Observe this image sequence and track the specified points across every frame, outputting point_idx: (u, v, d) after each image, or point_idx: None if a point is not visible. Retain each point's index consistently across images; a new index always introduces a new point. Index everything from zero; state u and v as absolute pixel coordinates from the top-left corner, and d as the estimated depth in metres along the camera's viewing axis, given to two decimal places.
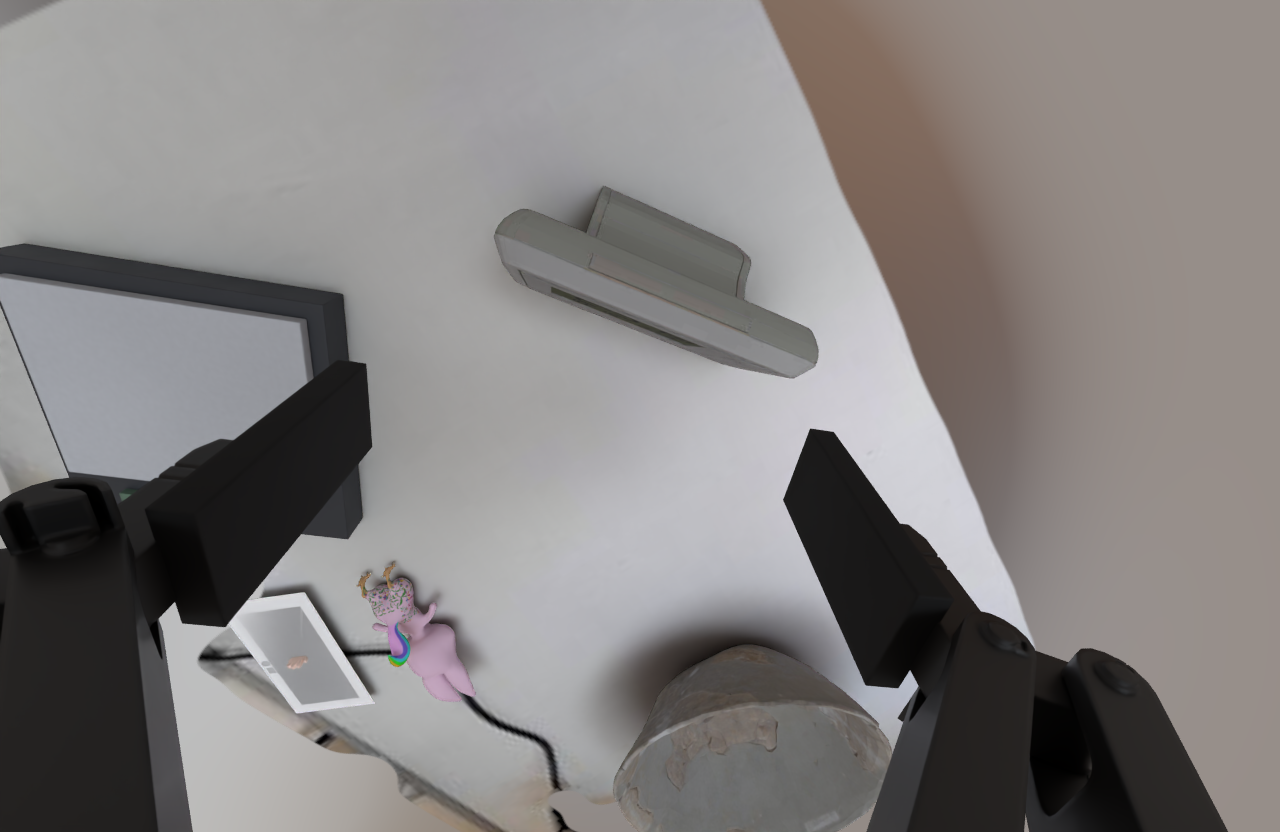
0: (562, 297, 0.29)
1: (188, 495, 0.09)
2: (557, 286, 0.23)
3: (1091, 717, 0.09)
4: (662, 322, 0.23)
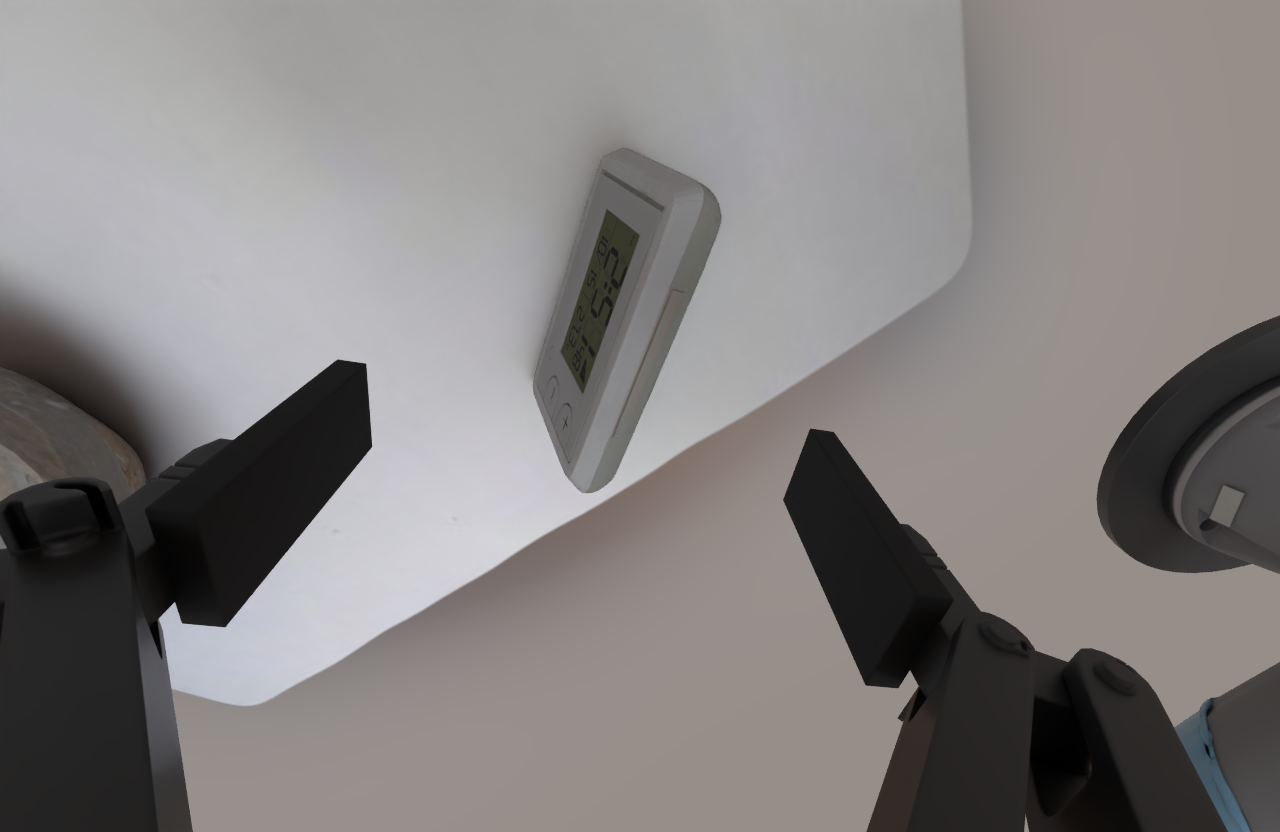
0: (601, 221, 0.27)
1: (188, 495, 0.09)
2: (646, 250, 0.22)
3: (1091, 717, 0.09)
4: (618, 361, 0.23)
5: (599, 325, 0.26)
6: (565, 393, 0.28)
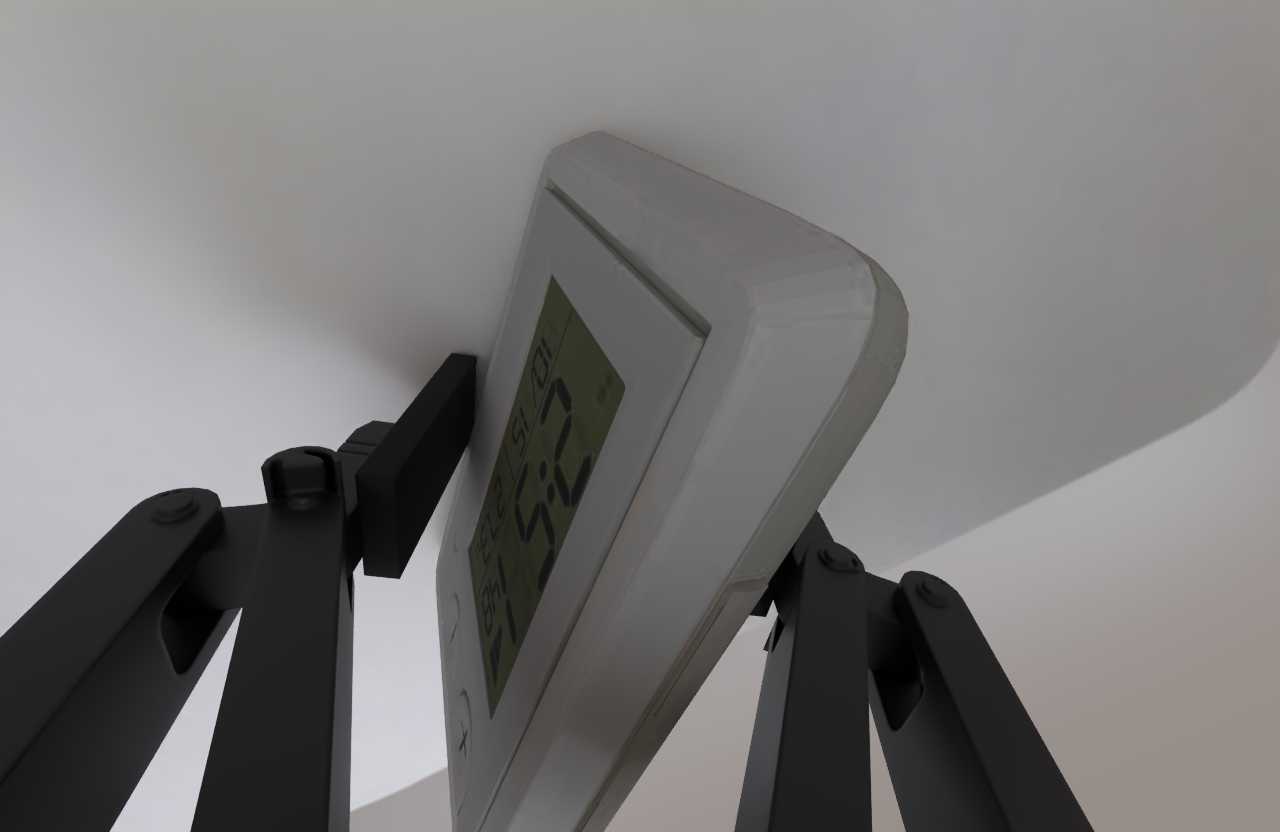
0: (541, 300, 0.11)
1: (383, 463, 0.11)
2: (646, 456, 0.07)
3: (919, 635, 0.09)
4: (563, 737, 0.08)
5: (527, 569, 0.10)
6: (466, 667, 0.13)
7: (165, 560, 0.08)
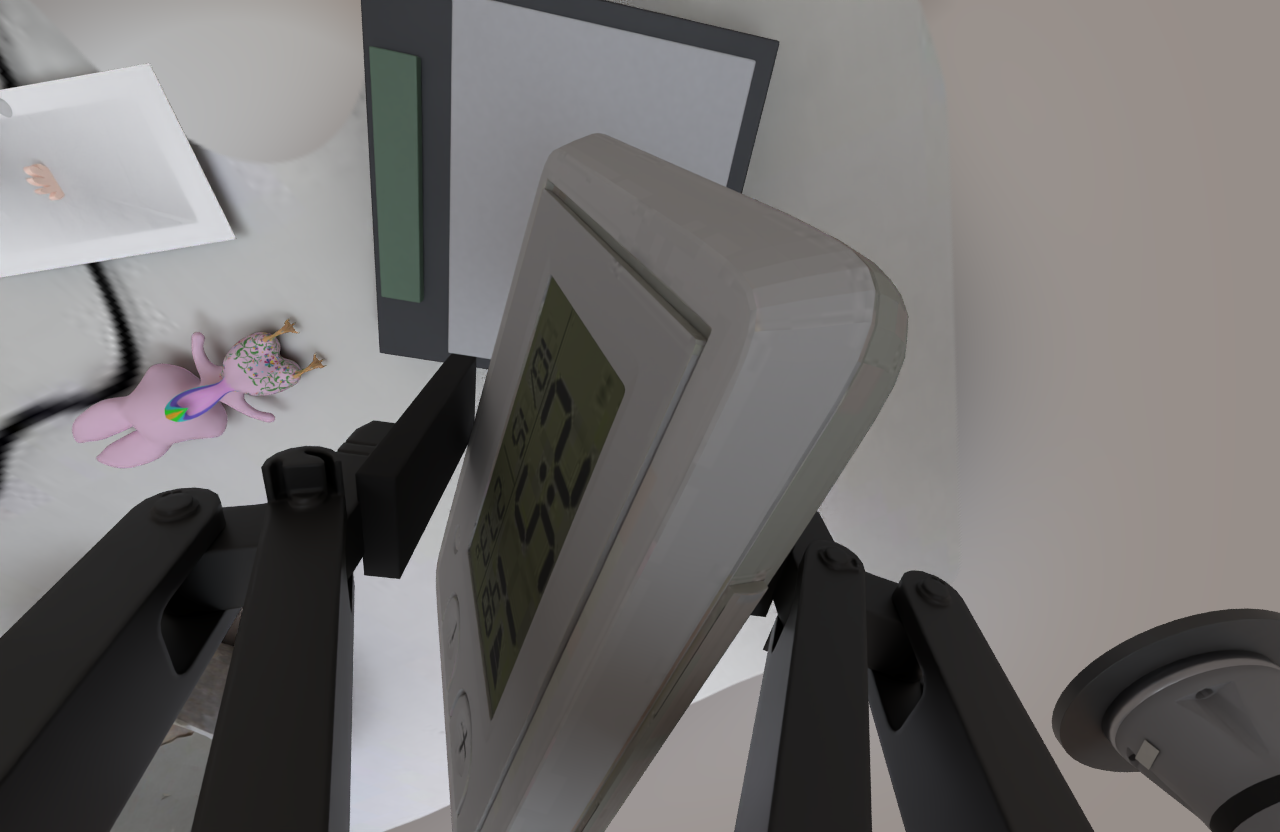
0: (541, 301, 0.11)
1: (383, 463, 0.11)
2: (646, 458, 0.07)
3: (918, 635, 0.09)
4: (562, 739, 0.08)
5: (527, 570, 0.10)
6: (466, 668, 0.13)
7: (166, 560, 0.08)
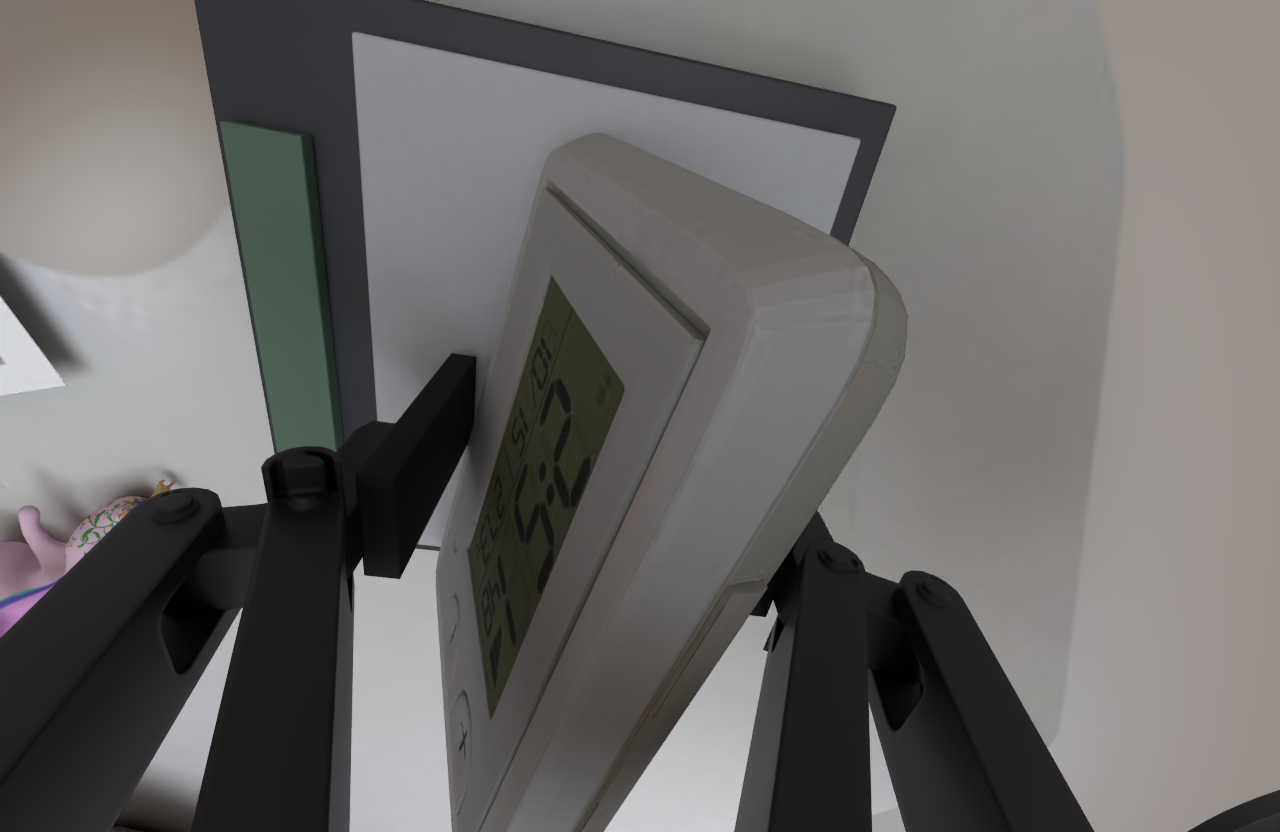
0: (541, 301, 0.11)
1: (383, 463, 0.11)
2: (645, 458, 0.07)
3: (919, 635, 0.09)
4: (562, 738, 0.08)
5: (527, 570, 0.10)
6: (466, 668, 0.13)
7: (165, 560, 0.08)
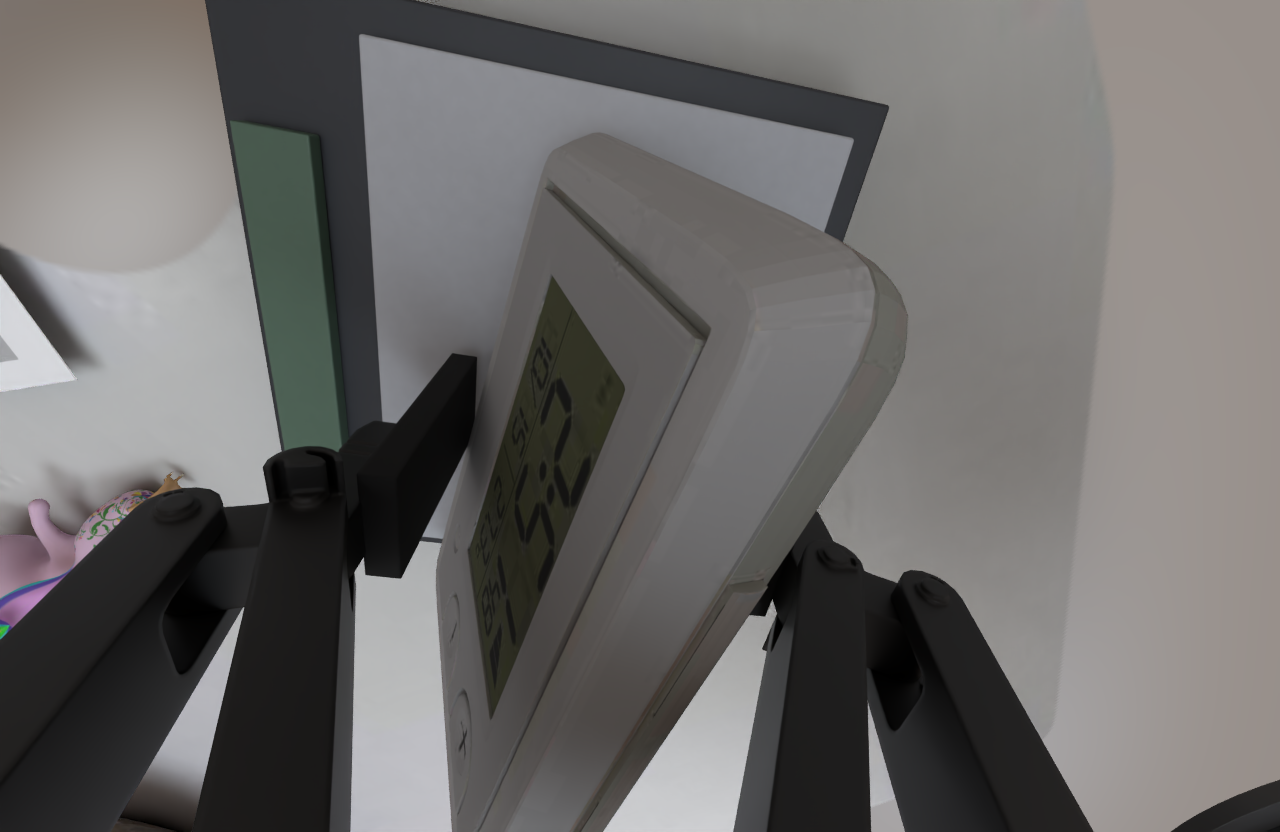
0: (541, 301, 0.11)
1: (384, 463, 0.11)
2: (646, 457, 0.07)
3: (917, 635, 0.09)
4: (562, 737, 0.08)
5: (527, 569, 0.10)
6: (466, 667, 0.13)
7: (167, 560, 0.08)
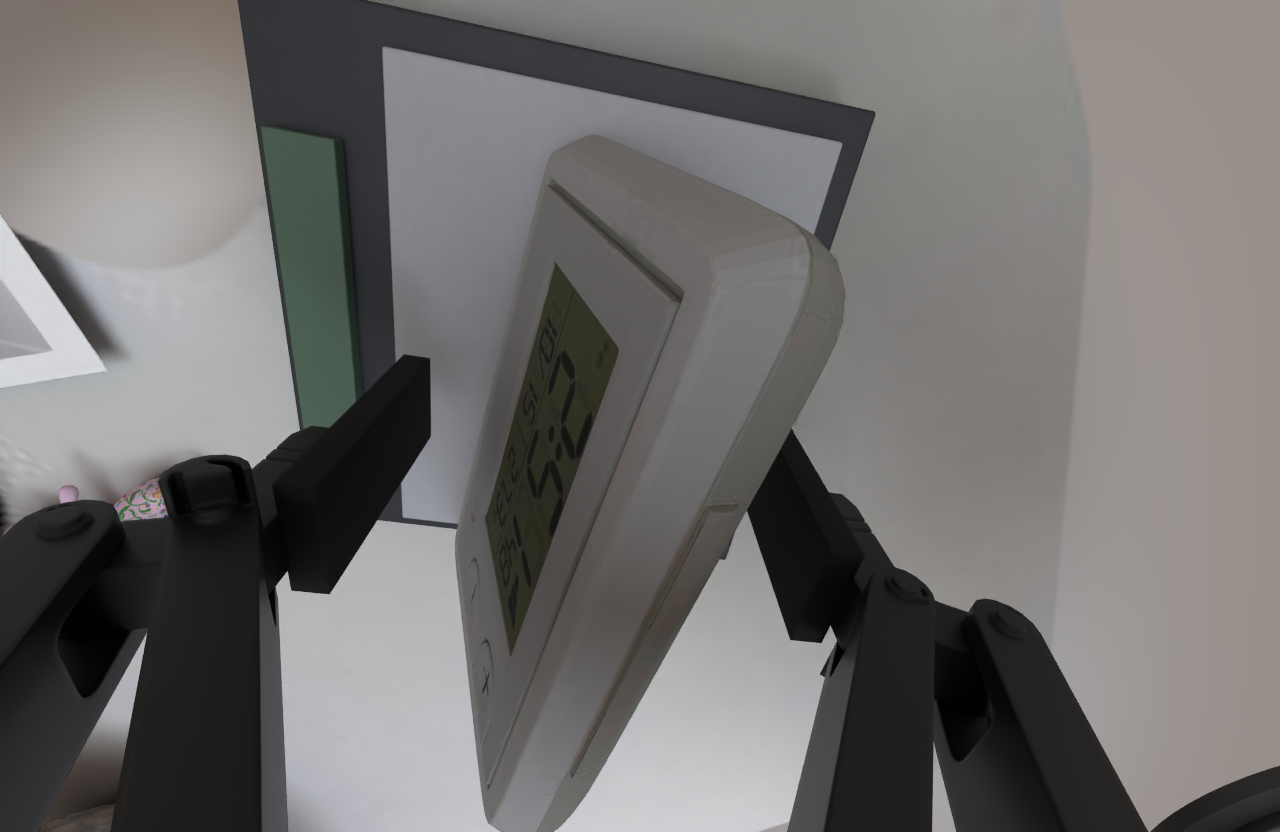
0: (546, 286, 0.13)
1: (305, 473, 0.10)
2: (636, 403, 0.08)
3: (989, 664, 0.09)
4: (573, 651, 0.10)
5: (540, 520, 0.12)
6: (487, 618, 0.14)
7: (57, 577, 0.07)
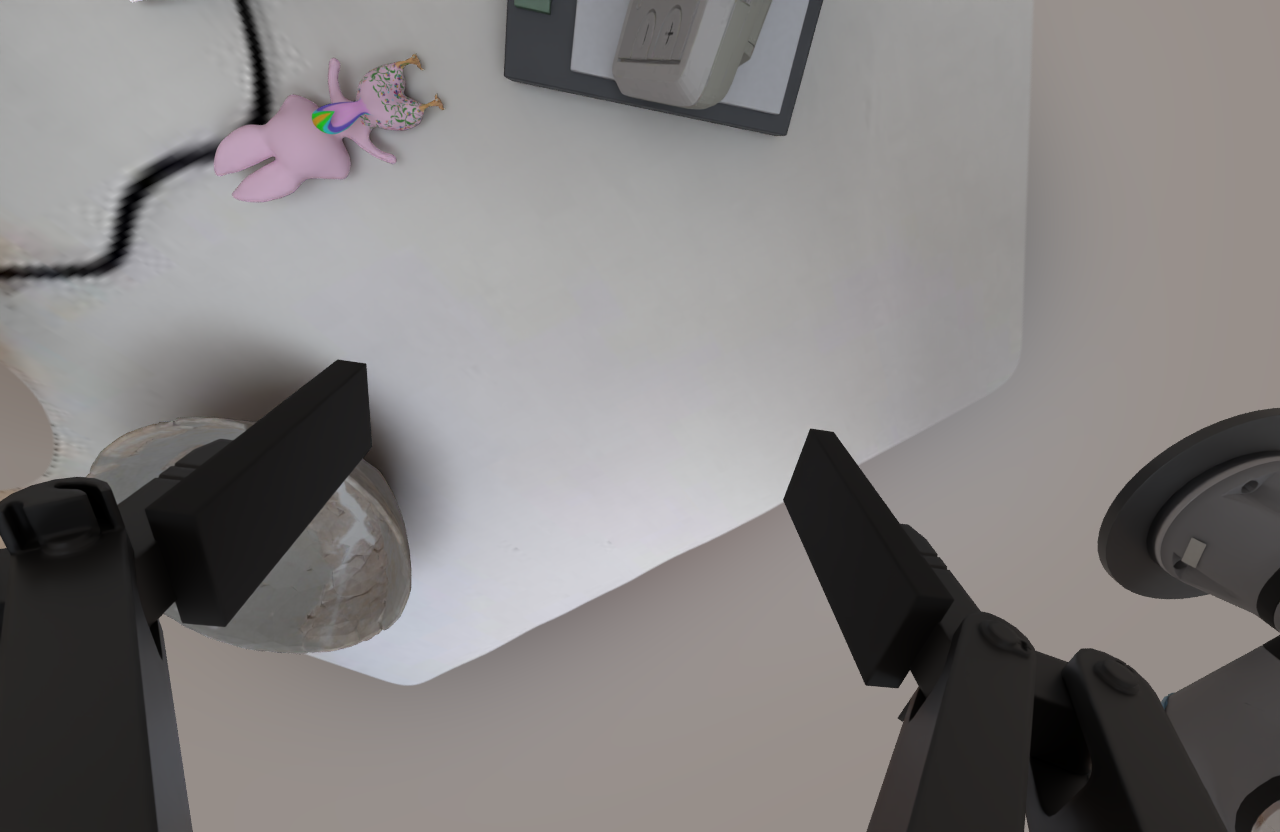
0: None
1: (188, 495, 0.09)
2: None
3: (1091, 717, 0.09)
4: None
5: None
6: (667, 4, 0.24)
7: None
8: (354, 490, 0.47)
